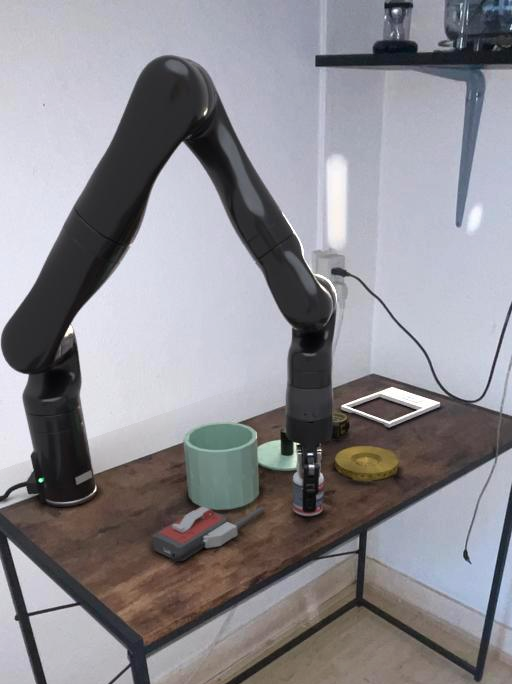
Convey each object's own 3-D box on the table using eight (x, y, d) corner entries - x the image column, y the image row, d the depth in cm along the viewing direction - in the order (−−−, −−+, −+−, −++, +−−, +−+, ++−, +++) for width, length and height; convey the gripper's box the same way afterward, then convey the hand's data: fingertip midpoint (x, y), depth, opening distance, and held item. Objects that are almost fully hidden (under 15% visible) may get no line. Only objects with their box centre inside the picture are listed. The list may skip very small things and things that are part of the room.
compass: (373, 451, 139) (373, 441, 138) (410, 474, 130) (411, 463, 129) (323, 464, 134) (323, 454, 133) (358, 489, 125) (359, 478, 124)
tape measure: (310, 433, 148) (310, 417, 146) (331, 424, 152) (331, 408, 150) (335, 442, 143) (335, 426, 142) (355, 432, 148) (356, 416, 146)
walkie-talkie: (185, 572, 103) (268, 517, 117) (183, 547, 101) (267, 494, 115) (145, 553, 108) (229, 502, 122) (142, 529, 106) (228, 480, 119)
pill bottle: (320, 518, 115) (321, 471, 111) (289, 515, 116) (289, 468, 112) (325, 503, 120) (326, 457, 115) (295, 500, 121) (296, 454, 116)
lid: (253, 474, 131) (251, 445, 128) (253, 445, 143) (252, 417, 140) (324, 472, 132) (324, 443, 128) (318, 443, 143) (318, 415, 140)
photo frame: (440, 401, 159) (389, 422, 149) (440, 406, 160) (388, 427, 150) (392, 386, 169) (341, 404, 158) (392, 390, 169) (340, 409, 159)
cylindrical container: (186, 513, 119) (180, 452, 113) (192, 479, 130) (187, 423, 124) (259, 510, 119) (256, 450, 113) (259, 477, 130) (256, 421, 124)
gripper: (284, 393, 115) (284, 483, 123) (287, 427, 102) (287, 524, 111) (328, 392, 115) (326, 482, 124) (337, 426, 103) (334, 523, 111)
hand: (308, 501), depth 117 cm, fingers closed on pill bottle, 5 cm apart
